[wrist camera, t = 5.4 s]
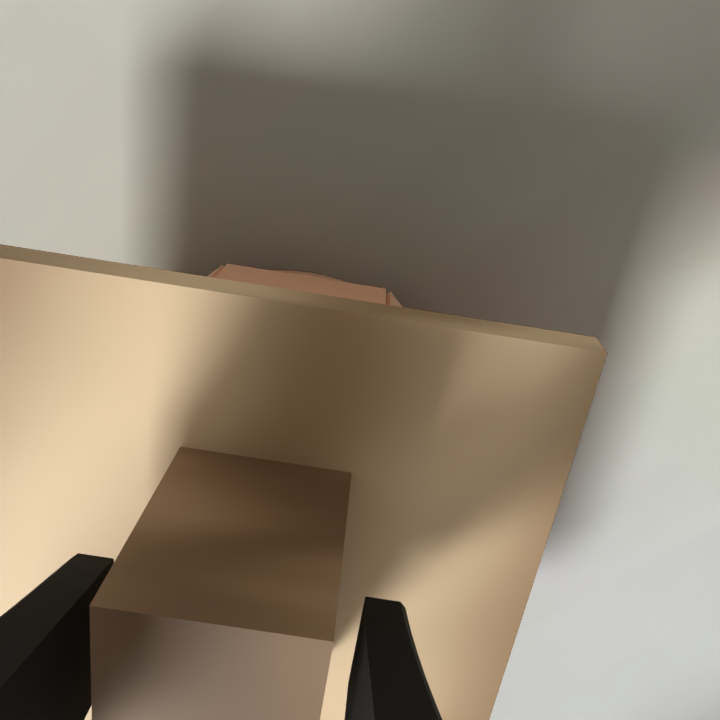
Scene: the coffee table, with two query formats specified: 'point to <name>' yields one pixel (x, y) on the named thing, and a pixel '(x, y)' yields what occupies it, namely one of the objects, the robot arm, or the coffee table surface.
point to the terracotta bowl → (305, 283)
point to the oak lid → (275, 481)
